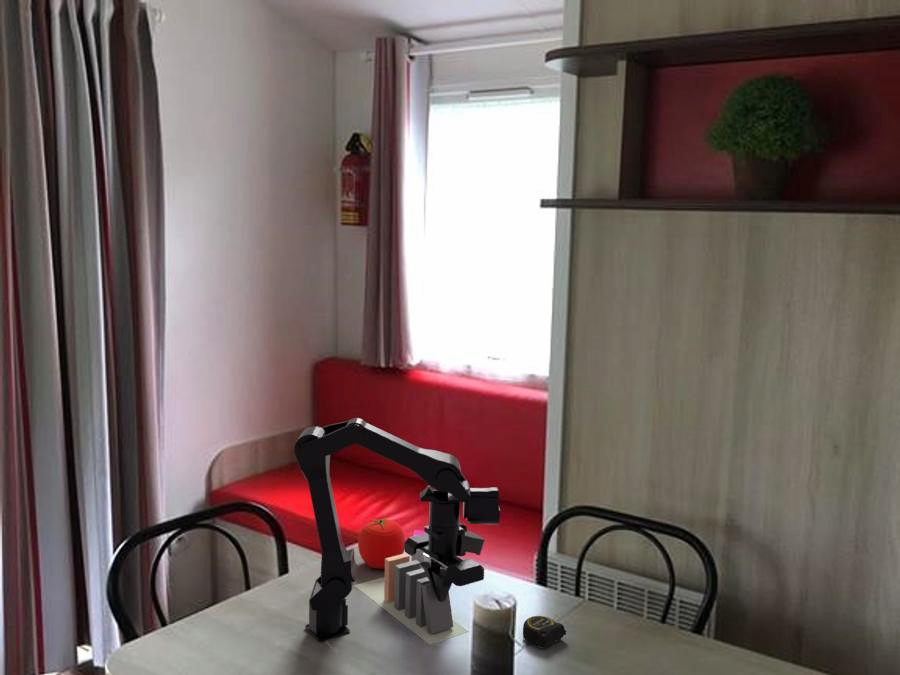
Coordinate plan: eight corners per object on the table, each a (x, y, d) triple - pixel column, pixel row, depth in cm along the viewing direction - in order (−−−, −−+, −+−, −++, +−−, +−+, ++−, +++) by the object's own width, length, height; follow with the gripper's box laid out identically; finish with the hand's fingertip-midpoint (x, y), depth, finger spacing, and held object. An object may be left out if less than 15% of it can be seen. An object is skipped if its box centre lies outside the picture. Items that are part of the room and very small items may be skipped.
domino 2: (398, 610, 162) (399, 568, 160) (394, 607, 163) (395, 565, 162) (419, 604, 165) (420, 562, 163) (415, 601, 166) (416, 560, 165)
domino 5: (432, 634, 152) (425, 585, 153) (427, 632, 153) (421, 585, 154) (453, 626, 155) (447, 579, 156) (448, 625, 156) (442, 578, 157)
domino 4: (420, 627, 155) (421, 583, 154) (416, 624, 157) (416, 580, 155) (441, 620, 158) (442, 577, 157) (437, 617, 160) (437, 574, 158)
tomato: (414, 566, 183) (415, 521, 182) (377, 579, 176) (378, 532, 174) (385, 552, 191) (386, 508, 189) (349, 564, 184) (349, 518, 182)
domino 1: (388, 602, 165) (389, 561, 164) (384, 599, 166) (384, 558, 165) (408, 596, 168) (409, 555, 167) (404, 593, 169) (405, 553, 168)
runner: (429, 645, 149) (430, 644, 149) (354, 586, 172) (354, 585, 172) (468, 632, 154) (468, 631, 154) (389, 576, 178) (389, 575, 178)
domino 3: (409, 618, 159) (410, 575, 157) (404, 615, 160) (405, 572, 159) (430, 612, 161) (431, 569, 160) (425, 609, 163) (426, 567, 161)
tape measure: (543, 655, 147) (544, 636, 147) (514, 640, 152) (515, 622, 152) (565, 642, 152) (567, 623, 152) (537, 628, 157) (538, 610, 156)
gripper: (508, 530, 148) (505, 610, 150) (450, 500, 163) (448, 573, 165) (460, 542, 142) (457, 625, 144) (403, 510, 157) (402, 586, 159)
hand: (441, 600), depth 153 cm, fingers closed
